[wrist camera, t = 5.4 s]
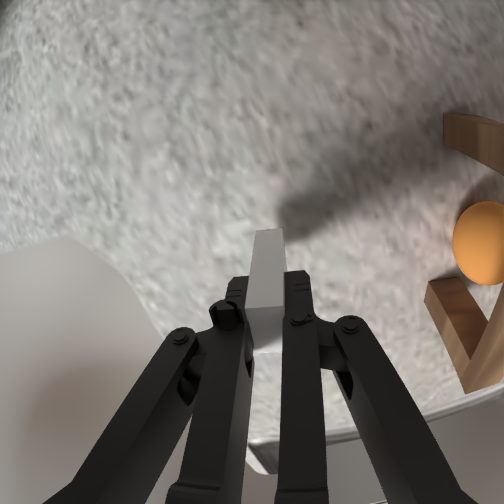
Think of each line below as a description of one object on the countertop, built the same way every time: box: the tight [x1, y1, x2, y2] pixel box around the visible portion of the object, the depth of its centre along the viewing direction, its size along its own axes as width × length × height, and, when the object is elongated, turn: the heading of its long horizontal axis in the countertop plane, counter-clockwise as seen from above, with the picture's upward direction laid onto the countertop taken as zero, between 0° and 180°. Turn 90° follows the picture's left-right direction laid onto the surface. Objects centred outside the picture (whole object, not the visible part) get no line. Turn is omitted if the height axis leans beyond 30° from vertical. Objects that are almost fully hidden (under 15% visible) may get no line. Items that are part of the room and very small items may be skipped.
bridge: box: [424, 113, 504, 394], centre depth 13 cm, size 3×14×9 cm, turn 9°
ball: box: [452, 201, 504, 286], centre depth 15 cm, size 6×6×6 cm
